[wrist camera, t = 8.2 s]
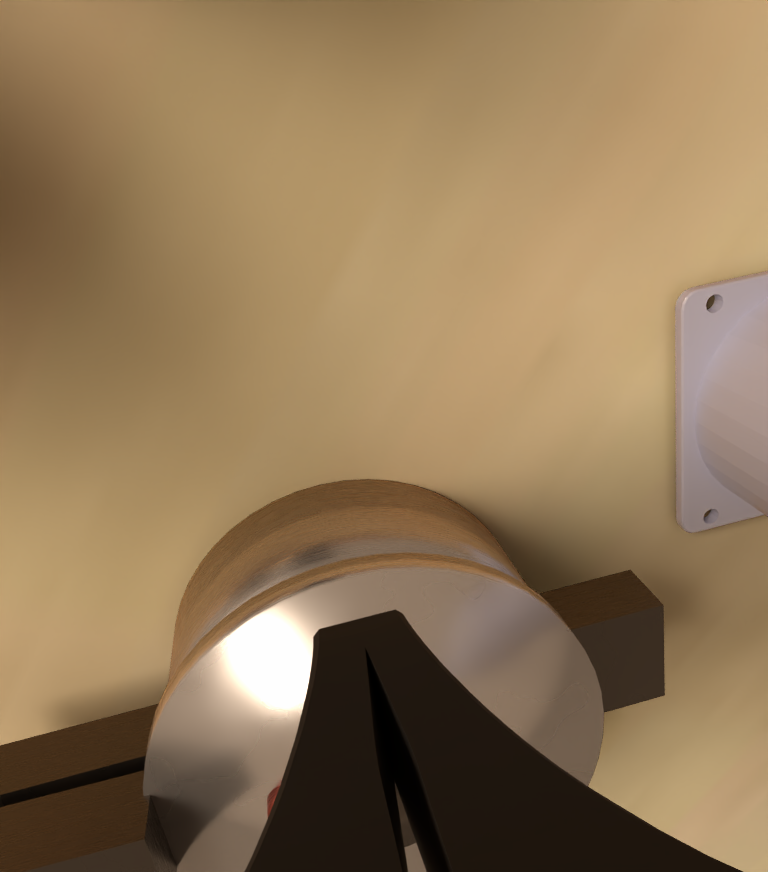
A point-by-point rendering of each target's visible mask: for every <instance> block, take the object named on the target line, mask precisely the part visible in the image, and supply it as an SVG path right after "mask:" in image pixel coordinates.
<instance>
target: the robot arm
mask: <svg viewBox="0 0 768 872" xmlns="http://www.w3.org/2000/svg"><path fill="white" fill-rule="evenodd" d="M712 295H714V297H715V301H714V304H713V305H712V307H711V308H709V309H707V307H706V303H707V300H708V299H709V298H710V296H712ZM675 350H676V520H677V523H678V525H679V526H680V527H681V528H682V529H684V530H685V531H686V532H689V533H695V532H700V531H703V530H707V529H711V528H715V527H719V526H723V525H727V524H731V523H734V522H738V521H742V520H746V519H750V518H754V517H758V516H762V515H766V516H767V517H768V271H765V272H761V273H756V274H752V275H747V276H742V277H738V278H733V279H729V280H724V281H719V282H715V283H710V284H705V285H701V286H696V287H692V288H689V289H687V290H685V291H684V292H683V293H682V294H681V295H680V296H679V298H678V300H677V301H676V307H675ZM710 509H711V511H710V513H709V515H708V516H706V517H704V514H705V513H706V512H707V511H708V510H710ZM395 784H396V787H397V790H398V792H399V795H400V798H401V801H402V804H403V807H404V809H405V812H406V815H407V818H408V821H409V824H410V826H411V829H412V832H413V835H414V838H415V841H416V843H417V846H418V849H419V852H420V855H421V857H422V860H423V863H424V866H425V869H426V872H743V871H740V870H738V869H736V868H734V867H731V866H729V865H727V864H725V863H723V862H720V861H718V860H716V859H714V858H712V857H710V856H707V855H706V854H704V853H702V852H700V851H698V850H696V849H694V848H692V847H690V846H689V845H687V844H685V843H683V842H681V841H679V840H677V839H675V838H673V837H672V836H670V835H668V834H666V833H664V832H662V831H660V830H658V829H657V828H655V827H653V826H652V825H650V824H649V823H647V822H645V821H644V820H642V819H640V818H639V817H637V816H635V815H634V814H632V813H630V812H629V811H627V810H625V809H624V808H622V807H620V806H619V805H617V804H615V803H614V802H612V801H610V800H609V799H607V798H605V797H604V796H602V795H600V794H599V793H597V792H595V791H594V790H592V789H591V788H589V787H588V786H586V785H585V784H584V783H582V782H581V781H579V780H578V779H576V778H575V777H573V776H572V775H570V774H569V773H568V772H566V771H565V770H563V769H562V768H560V767H559V766H558V765H556V764H555V763H554V762H552V761H551V760H550V759H548V758H547V757H546V756H544V755H543V754H542V753H540V752H539V751H538V750H536V749H535V748H534V747H532V746H531V745H530V744H529V743H527V742H526V741H525V740H524V739H522V738H521V737H520V736H519V735H517V734H516V733H515V732H514V731H513V730H511V729H510V728H509V727H508V726H507V725H506V724H504V723H503V722H502V721H501V720H500V719H499V718H498V717H496V716H495V715H494V714H493V713H492V712H491V711H490V710H489V709H487V708H486V707H485V706H484V705H483V704H482V703H481V702H480V701H479V700H478V699H477V698H476V697H475V696H474V695H472V694H471V693H470V692H469V691H468V689H467V688H466V687H465V686H464V685H463V684H462V683H461V682H460V681H459V680H458V679H457V678H456V677H455V676H454V675H453V674H452V673H451V672H450V671H449V670H448V669H447V668H446V667H445V666H444V665H443V664H442V663H441V662H440V661H439V659H438V658H437V657H436V656H435V655H434V654H433V653H432V651H431V650H430V649H429V648H428V647H427V646H426V644H425V643H424V642H423V641H422V639H421V638H420V637H419V636H418V634H417V633H416V632H415V630H414V629H413V628H412V626H411V625H410V624H409V622H408V621H407V619H406V618H405V616H404V614H403V613H401V612H399V611H397V610H396V609H395V610H391V611H387V612H383V613H379V614H375V615H372V616H368V617H364V618H360V619H356V620H352V621H348V622H344V623H341V624H337V625H333V626H329V627H325V628H321V629H319V630H318V631H317V632H316V634H315V635H314V636H313V655H312V664H311V671H310V677H309V682H308V688H307V693H306V697H305V701H304V705H303V710H302V714H301V718H300V722H299V726H298V730H297V734H296V737H295V741H294V744H293V747H292V750H291V753H290V757H289V760H288V763H287V766H286V769H285V772H284V775H283V778H282V781H281V785H280V787H279V790H278V793H277V796H276V798H275V801H274V804H273V806H272V809H271V812H270V814H269V817H268V819H267V822H266V824H265V827H264V829H263V831H262V834H261V836H260V839H259V841H258V843H257V846H256V848H255V850H254V853H253V855H252V857H251V859H250V861H249V863H248V866H247V868H246V870H245V872H408V868H407V861H406V854H405V848H404V841H403V834H402V828H401V821H400V814H399V808H398V801H397V795H396V788H395Z"/></svg>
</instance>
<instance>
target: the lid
mask: <svg viewBox="0 0 768 872" xmlns="http://www.w3.org/2000/svg"><path fill="white" fill-rule="evenodd" d="M395 609H396V610H397V611H399V612H401V613H403V614H404V616H405V618H406V619H407V621H408V622H409V624H410V625H411V626H412V628H413V629H414V630H415V632H416V633H417V634H418V636H419V637H420V638H421V639H422V641H423V642H424V643H425V644H426V646H427V647H428V648H429V649H430V650H431V651H432V653H433V654H434V655H435V656H436V657H437V658H438V659H439V661H440V662H441V663H442V664H443V665H444V666H445V667H446V668H447V669H448V670H449V671H450V672H451V673H452V674H453V675H454V676H455V677H456V678H457V679H458V680H459V681H460V682H461V683H462V684H463V685H464V686H465V687H466V688H467V689H468V691H469V692H470V693H471V694H472V695H474V696H475V697H476V698H477V699H478V700H479V701H480V702H481V703H482V704H483V705H484V706H485V707H486V708H487V709H489V710H490V711H491V712H492V713H493V714H494V715H495V716H496V717H498V718H499V719H500V720H501V721H502V722H503V723H504V724H506V725H507V726H508V727H509V728H510V729H511V730H513V731H514V732H515V733H516V734H517V735H519V736H520V737H521V738H522V739H524V740H525V741H526V742H527V743H529V744H530V745H531V746H532V747H534V748H535V749H536V750H538V751H539V752H540V753H542V754H543V755H544V756H546V757H547V758H548V759H550V760H551V761H552V762H554V763H555V764H556V765H558V766H559V767H560V768H562V769H563V770H565V771H566V772H568V773H569V774H570V775H572V776H573V777H575V778H576V779H578V780H579V781H581V782H582V783H584V784H585V785H586V786H588V785H589V783H590V781H591V778H592V775H593V773H594V770H595V767H596V764H597V761H598V758H599V753H600V748H601V743H602V738H603V724H604V710H603V701H602V693H601V689H600V686H599V682H598V679H597V675H596V672H595V669H594V667H593V665H592V663H591V661H590V659H589V657H588V655H587V653H586V651H585V649H584V648H583V647H582V645H581V644H580V642H579V641H578V639H577V638H576V637H575V635H574V634H573V632H572V631H571V629H570V628H569V627H568V625H567V624H566V623H565V621H564V620H563V619H562V617H561V616H560V615H559V613H558V612H557V611H556V610H555V609H554V608H553V607H552V606H551V605H550V604H549V603H548V602H547V601H546V600H545V599H544V598H543V597H542V596H541V595H539V594H538V593H536V592H535V591H534V590H532V589H531V588H529V587H528V586H526V585H525V584H524V583H522V582H521V581H519V580H517V579H515V578H513V577H511V576H509V575H507V574H505V573H503V572H501V571H499V570H497V569H495V568H492V567H489V566H486V565H483V564H480V563H477V562H474V561H471V560H467V559H461V558H456V557H451V556H446V555H440V554H426V553H410V552H407V553H389V554H375V555H369V556H363V557H357V558H351V559H345V560H341V561H338V562H334V563H331V564H327V565H324V566H321V567H317V568H314V569H311V570H308V571H306V572H303V573H301V574H299V575H296V576H294V577H291V578H289V579H286V580H284V581H282V582H280V583H278V584H276V585H274V586H272V587H271V588H269V589H267V590H265V591H263V592H261V593H260V594H258V595H256V596H254V597H252V598H251V599H249V600H248V601H247V602H245V603H244V604H242V605H241V606H240V607H238V608H237V609H235V610H234V611H233V612H231V613H230V614H228V615H227V616H226V617H224V618H223V619H222V620H221V621H220V622H219V623H218V624H217V625H216V626H215V627H213V628H212V629H211V630H210V631H209V632H208V633H207V634H206V635H205V636H204V637H203V638H202V639H201V640H200V641H199V642H198V643H197V644H196V646H195V647H194V648H193V649H192V650H191V652H190V653H189V654H188V655H187V656H186V658H185V659H184V660H183V661H182V662H181V664H180V666H179V667H178V669H177V670H176V672H175V674H174V675H173V677H172V678H171V680H170V681H169V683H168V685H167V686H166V688H165V691H164V693H163V695H162V698H161V700H160V702H159V704H158V707H157V709H156V711H155V715H154V719H153V722H152V726H151V730H150V734H149V738H148V745H147V752H146V759H145V768H144V771H140V772H136V773H132V774H128V775H124V776H120V777H116V778H112V779H109V780H105V781H101V782H97V783H93V784H89V785H85V786H81V787H77V788H73V789H70V790H66V791H62V792H58V793H54V794H50V795H46V796H42V797H38V798H35V799H31V800H27V801H23V802H19V803H15V804H11V805H7V806H3V807H0V872H245V870H246V868H247V866H248V863H249V861H250V859H251V857H252V855H253V853H254V850H255V848H256V846H257V843H258V841H259V839H260V836H261V834H262V831H263V829H264V827H265V824H266V822H267V819H268V817H269V814H270V812H271V809H272V806H273V804H274V801H275V798H276V796H277V793H278V790H279V787H280V785H281V781H282V778H283V775H284V772H285V769H286V766H287V763H288V760H289V757H290V753H291V750H292V747H293V744H294V741H295V737H296V734H297V730H298V726H299V722H300V718H301V714H302V710H303V705H304V701H305V697H306V693H307V688H308V682H309V677H310V671H311V664H312V655H313V636H314V635H315V634H316V632H317V631H318V630H319V629H321V628H325V627H329V626H333V625H337V624H341V623H344V622H348V621H352V620H356V619H360V618H364V617H368V616H372V615H375V614H379V613H383V612H387V611H391V610H395ZM395 788H396V795H397V801H398V808H399V814H400V821H401V828H402V834H403V841H404V848H405V854H406V861H407V868H408V872H426V869H425V866H424V863H423V860H422V857H421V855H420V852H419V849H418V846H417V843H416V841H415V838H414V835H413V832H412V829H411V826H410V824H409V821H408V818H407V815H406V812H405V809H404V807H403V804H402V801H401V798H400V795H399V792H398V790H397V787H396V784H395Z"/></svg>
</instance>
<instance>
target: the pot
mask: <svg viewBox="0 0 768 872" xmlns="http://www.w3.org/2000/svg"><path fill="white" fill-rule="evenodd" d="M407 552H410V553H426V554H440V555H446V556H451V557H456V558H461V559H467V560H471V561H474V562H477V563H480V564H483V565H486V566H489V567H492V568H495V569H497V570H499V571H501V572H503V573H505V574H507V575H509V576H511V577H513V578H515V579H517V580H519V581H521V582H522V583H524V584H525V585H526V583H525V582H524V580H523V579H522V577H521V576H520V574H519V573H518V571H517V570H516V568H515V567H514V565H513V564H512V562H511V561H510V559H509V558H508V556H507V555H506V553H505V552H504V550H503V549H502V547H501V546H500V544H499V543H498V542H497V540H496V539H495V538H494V536H493V535H492V534H491V533H490V531H489V530H488V529H487V527H486V526H484V525H483V524H482V523H481V522H480V521H479V520H478V519H477V518H476V517H475V516H474V515H473V514H472V513H470V512H469V511H467V510H466V509H464V508H463V507H461V506H460V505H458V504H457V503H456V502H454V501H452V500H450V499H448V498H446V497H444V496H442V495H440V494H438V493H436V492H433V491H430V490H427V489H424V488H421V487H418V486H415V485H410V484H404V483H399V482H394V481H384V480H369V479H367V480H348V481H339V482H334V483H328V484H322V485H318V486H314V487H311V488H307V489H304V490H301V491H297V492H294V493H292V494H290V495H287V496H285V497H283V498H280V499H278V500H276V501H273V502H271V503H270V504H268V505H266V506H264V507H263V508H261V509H259V510H258V511H256V512H254V513H252V514H251V515H249V516H248V517H247V518H245V519H244V520H243V521H241V522H240V523H239V524H237V525H236V526H235V527H233V528H232V529H231V530H230V531H229V532H228V533H227V534H226V535H225V536H224V537H223V538H222V539H221V540H220V541H219V542H217V543H216V544H215V545H214V546H213V548H212V549H211V550H210V552H209V553H208V554H207V555H206V557H205V558H204V559H203V560H202V562H201V563H200V564H199V566H198V568H197V569H196V571H195V573H194V575H193V576H192V578H191V580H190V581H189V583H188V585H187V588H186V590H185V593H184V595H183V598H182V600H181V603H180V606H179V611H178V615H177V619H176V624H175V631H174V640H173V648H172V656H171V664H170V672H169V681H170V680H171V678H172V677H173V675H174V674H175V672H176V670H177V669H178V667H179V666H180V664H181V662H182V661H183V660H184V659H185V658H186V656H187V655H188V654H189V653H190V652H191V650H192V649H193V648H194V647H195V646H196V644H197V643H198V642H199V641H200V640H201V639H202V638H203V637H204V636H205V635H206V634H207V633H208V632H209V631H210V630H211V629H212V628H213V627H215V626H216V625H217V624H218V623H219V622H220V621H221V620H222V619H223V618H224V617H226V616H227V615H228V614H230V613H231V612H233V611H234V610H235V609H237V608H238V607H240V606H241V605H242V604H244V603H245V602H247V601H248V600H249V599H251V598H252V597H254V596H256V595H258V594H260V593H261V592H263V591H265V590H267V589H269V588H271V587H272V586H274V585H276V584H278V583H280V582H282V581H284V580H286V579H289V578H291V577H294V576H296V575H299V574H301V573H303V572H306V571H308V570H311V569H314V568H317V567H321V566H324V565H327V564H331V563H334V562H338V561H341V560H345V559H351V558H357V557H363V556H369V555H375V554H389V553H407ZM526 586H527V585H526ZM540 595H541V596H542V597H543V598H544V599H545V600H546V601H547V602H548V603H549V604H550V605H551V606H552V607H553V608H554V609H555V610H556V611H557V612H558V613H559V615H560V616H561V617H562V619H563V620H564V621H565V623H566V624H567V625H568V627H569V628H570V629H571V631H572V632H573V634H574V635H575V637H576V638H577V639H578V641H579V642H580V644H581V645H582V647H583V648H584V649H585V651H586V653H587V655H588V657H589V659H590V661H591V663H592V665H593V667H594V669H595V672H596V675H597V679H598V682H599V686H600V689H601V693H602V701H603V710H604V712H607V711H611V710H614V709H618V708H621V707H625V706H629V705H632V704H636V703H639V702H643V701H646V700H650V699H653V698H657V697H660V696H664V695H665V689H664V614H663V604H662V603H661V602H660V601H659V600H658V599H657V598H656V597H655V596H654V595H653V593H652V592H651V591H650V590H649V589H648V588H647V587H646V586H645V585H644V584H643V583H642V582H641V581H640V580H639V579H638V578H637V576H636V575H635V574H634V573H633V572H632V571H631V570H628V571H624V572H620V573H616V574H612V575H608V576H605V577H601V578H597V579H593V580H589V581H586V582H582V583H578V584H574V585H570V586H566V587H563V588H559V589H555V590H551V591H547V592H543V593H540ZM169 681H168V683H169ZM157 707H158V704H156V705H153V706H149V707H145V708H141V709H137V710H134V711H130V712H126V713H122V714H118V715H115V716H111V717H107V718H103V719H99V720H96V721H92V722H88V723H84V724H80V725H77V726H73V727H69V728H65V729H61V730H58V731H54V732H50V733H46V734H42V735H39V736H35V737H31V738H27V739H23V740H20V741H16V742H12V743H8V744H4V745H1V746H0V807H3V806H7V805H11V804H15V803H19V802H23V801H27V800H31V799H35V798H38V797H42V796H46V795H50V794H54V793H58V792H62V791H66V790H70V789H73V788H77V787H81V786H85V785H89V784H93V783H97V782H101V781H105V780H109V779H112V778H116V777H120V776H124V775H128V774H132V773H136V772H140V771H144V768H145V759H146V752H147V745H148V738H149V734H150V730H151V726H152V722H153V719H154V715H155V711H156V709H157Z"/></svg>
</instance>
